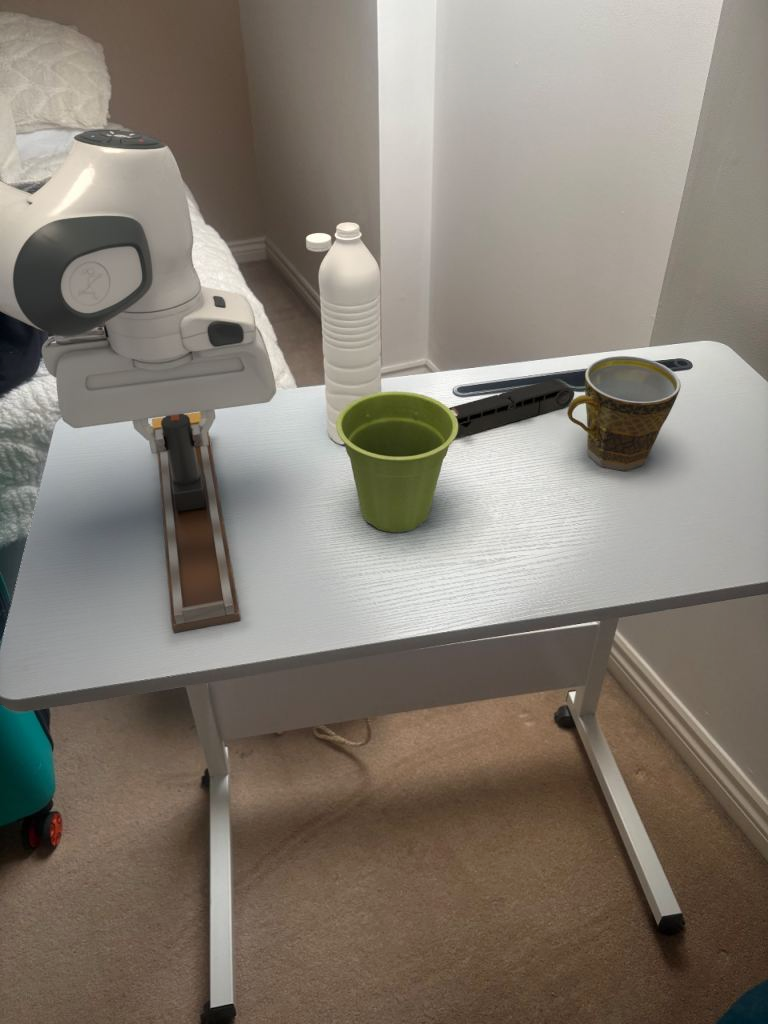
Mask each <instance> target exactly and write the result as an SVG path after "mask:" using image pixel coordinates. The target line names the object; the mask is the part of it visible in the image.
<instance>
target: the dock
mask: <svg viewBox="0 0 768 1024" xmlns="http://www.w3.org/2000/svg"><path fill="white" fill-rule="evenodd" d="M185 415H187V416H188V417H189V418H190V423H191V425H196V424H199V422H200V420H201V414H200V412H193V413H186V414H185ZM164 417H165V416H164ZM164 417H156V418H151V426H152V427H153V428H154V429H155V430H160V429H162V426H161V421H162V419H163V418H164ZM209 432H210V431H208V432H207V436H208V442H210V443H211V438H210V433H209Z"/></svg>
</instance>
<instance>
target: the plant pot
mask: <svg viewBox="0 0 768 1024" xmlns="http://www.w3.org/2000/svg"><path fill="white" fill-rule="evenodd" d="M449 408H450V407H449V406H448V405H446V404H444V403H443V402H441V401H440V400H437V399H435V398H434V397H431V396H428V395H425V394H419V393H417V392H410V391H398V390H397V391H395V390H394V391H381V392H380V393H375V394H371V395H367V396H364V397H361V398H359V399H357V400H355V401H353V402H351V403H350V404H348V405H347V406H346V407H345V408H344V409H343V410H342V411H341V412H340V414H339V416H338V418H337V422H336V428H337V432H338V435H339V437H340V438H341V440H342V441H343V442H344V443H345V444H344V447H345V451H346V453H347V455H348V457H349V461H350V465H351V470H352V474H353V480H354V484H355V488H356V493H357V498H358V499H357V500H358V503H359V509H360V511H361V512H360V513H361V516H362V517H363V519H364V521H365V522H367V523H368V524H370V525H372V526H374V527H375V528H376V529H378V530H380V531H384V532H389V533H403V532H408V531H412V530H414V529H416V528H417V527H419V525H421V524H422V523H424V522H426V520H428V517H429V514H430V511H431V507H432V503H433V500H434V496H435V492H436V488H437V485H438V481H439V477H440V473H441V469H442V467H443V462H444V459H445V458H446V456H447V455H448V451H449V447H450V445H451V444H452V443H453V442H454V441H455V440H456V439H457V438H456V435H457V432H458V421H457V418H456V417H455V415H454V413H453V412H452V411H451V410H450V409H449Z"/></svg>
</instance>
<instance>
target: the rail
mask: <svg viewBox="0 0 768 1024" xmlns="http://www.w3.org/2000/svg"><path fill="white" fill-rule="evenodd" d="M208 443H209V445H208V446H201V447H195V451H196V456H197V461H198V462H199V464H200V470H201V475H202V481H203V488H204V495H205V502H206V507H204V508H198V509H192V510H185V511H179V512H177V509H176V504H175V500H174V495H173V486H172V476H171V469H170V464H169V459H168V454H167V451H166V452H160V453H157V460H158V474H159V486H160V497H161V498H160V499H161V510H162V511H161V512H162V521H163V534H164V546H165V557H166V558H165V559H166V570H167V572H166V573H167V582H168V583H167V585H168V596H169V606H170V620H171V627H172V632H173V633H174V634H175V633H181V632H187V631H191V630H196V629H197V630H198V629H201V628H207V627H212V626H219V625H223V624H229V623H233V622H238V621H239V622H240V621H241V615H240V610H239V605H238V598H237V592H236V587H235V582H234V581H235V579H234V575H233V569H232V561H231V558H230V551H229V550H230V549H229V545H228V540H227V534H226V527H225V522H224V516H223V511H222V503H221V497H220V492H219V485H218V479H217V474H216V469H215V462H214V457H213V450H212V445H211V441H210V442H208Z"/></svg>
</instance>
